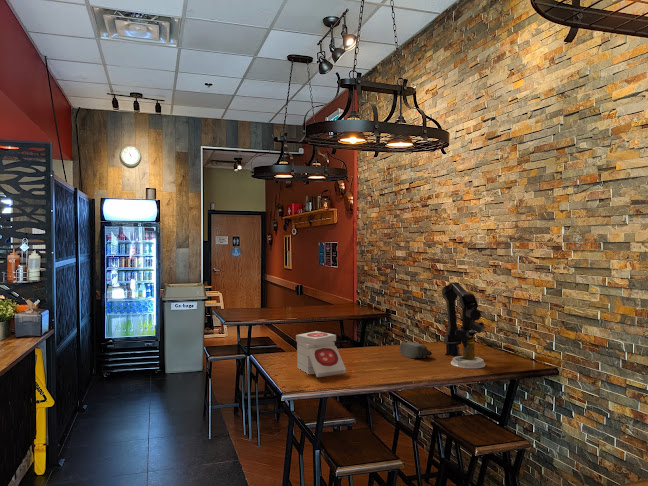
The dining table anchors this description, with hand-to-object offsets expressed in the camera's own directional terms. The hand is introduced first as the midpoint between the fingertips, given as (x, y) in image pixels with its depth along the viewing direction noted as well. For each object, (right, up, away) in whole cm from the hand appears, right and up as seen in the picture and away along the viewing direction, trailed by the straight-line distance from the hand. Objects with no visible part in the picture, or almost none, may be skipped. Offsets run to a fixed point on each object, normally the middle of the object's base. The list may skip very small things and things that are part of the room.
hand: (467, 346), depth 264 cm
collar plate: (0, -10, 0) cm, 10 cm away
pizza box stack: (-79, -11, -12) cm, 81 cm away
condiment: (0, -7, -1) cm, 7 cm away
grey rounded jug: (-25, -10, +19) cm, 33 cm away
